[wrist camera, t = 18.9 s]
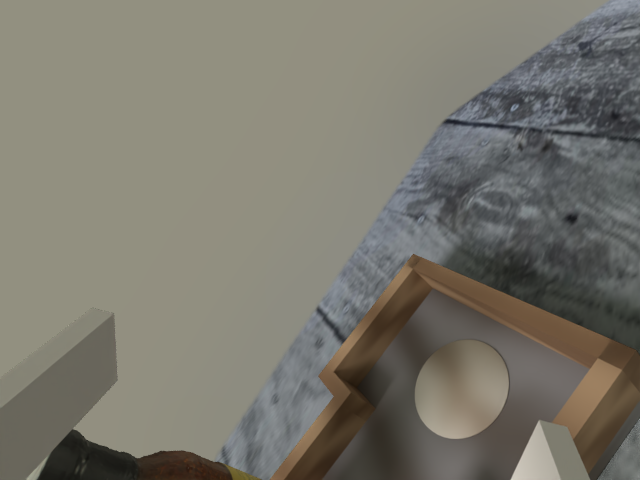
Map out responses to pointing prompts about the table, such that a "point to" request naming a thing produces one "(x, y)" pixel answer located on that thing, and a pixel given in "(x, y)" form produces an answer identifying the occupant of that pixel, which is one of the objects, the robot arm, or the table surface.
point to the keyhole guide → (463, 386)
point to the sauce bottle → (127, 464)
